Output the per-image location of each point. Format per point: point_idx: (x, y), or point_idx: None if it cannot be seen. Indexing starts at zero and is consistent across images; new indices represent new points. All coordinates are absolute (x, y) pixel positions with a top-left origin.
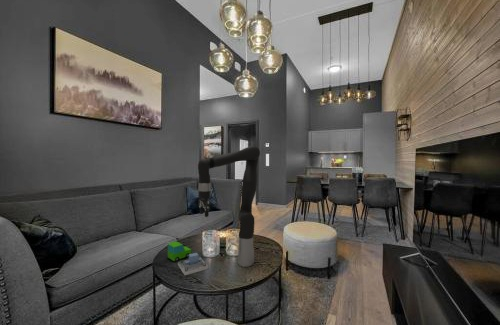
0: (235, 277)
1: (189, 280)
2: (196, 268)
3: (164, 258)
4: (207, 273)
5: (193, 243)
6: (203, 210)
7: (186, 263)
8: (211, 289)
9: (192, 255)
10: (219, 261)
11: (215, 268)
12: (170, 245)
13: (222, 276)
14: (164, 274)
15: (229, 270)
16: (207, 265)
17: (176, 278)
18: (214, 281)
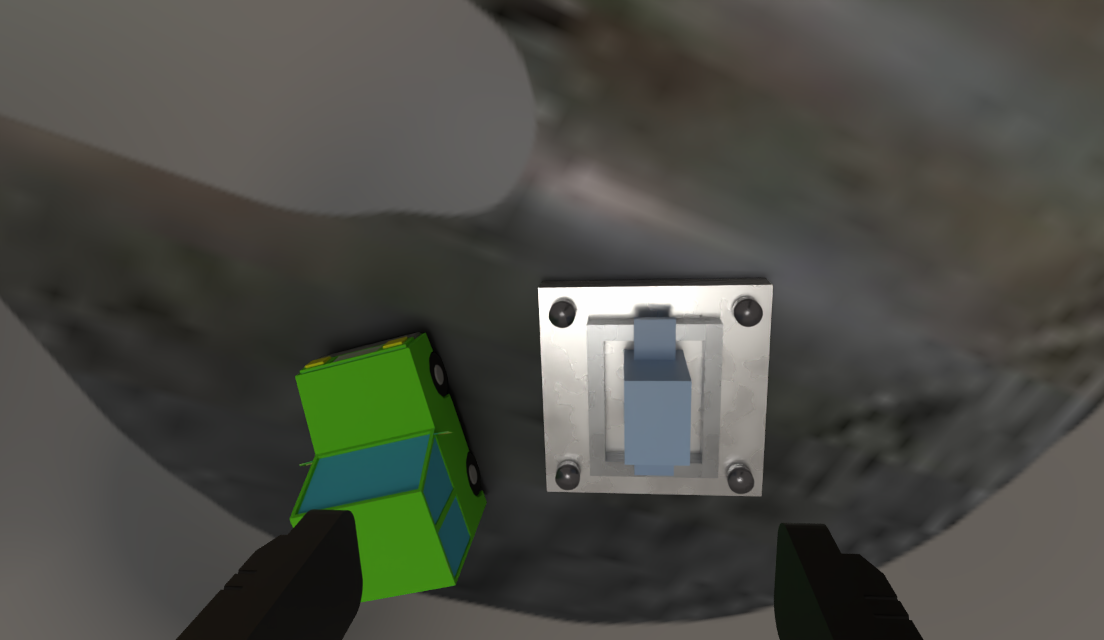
0: (1085, 103)
1: (852, 470)
2: (761, 394)
3: None
4: (840, 310)
5: (120, 208)
6: (297, 570)
7: (673, 468)
8: (1096, 372)
9: (672, 440)
10: (685, 111)
11: (799, 209)
12: (386, 597)
13: (980, 210)
14: (649, 593)
15: (925, 97)
16: (767, 287)
17: (761, 540)
18: (1005, 307)
